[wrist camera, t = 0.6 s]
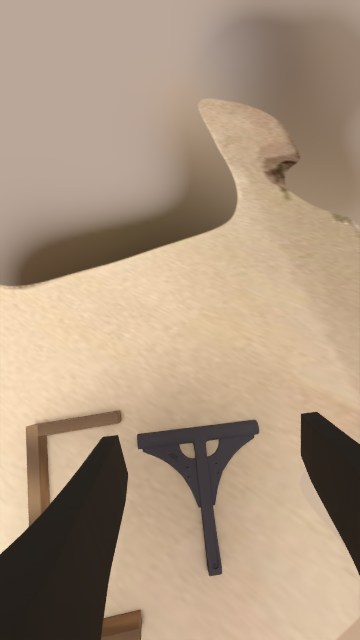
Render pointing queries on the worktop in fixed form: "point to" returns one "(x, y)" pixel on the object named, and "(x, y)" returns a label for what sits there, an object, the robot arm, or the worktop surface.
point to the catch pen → (116, 631)
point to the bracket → (201, 467)
